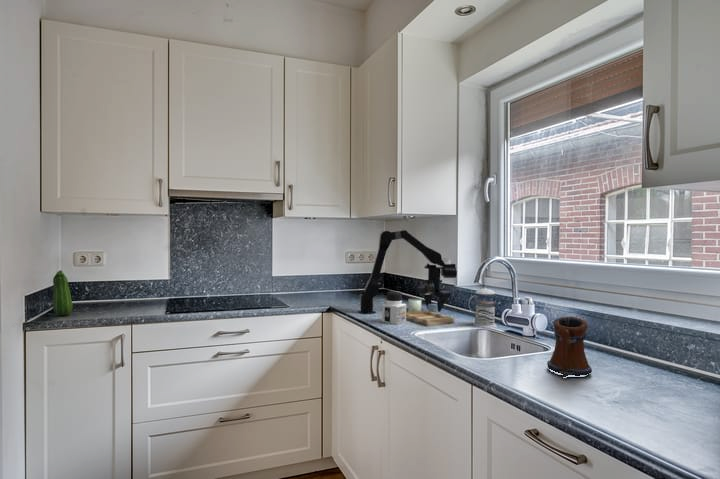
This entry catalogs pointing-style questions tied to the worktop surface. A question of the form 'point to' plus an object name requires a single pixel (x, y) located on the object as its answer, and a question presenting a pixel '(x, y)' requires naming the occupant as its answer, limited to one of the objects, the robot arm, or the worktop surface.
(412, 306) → the cup
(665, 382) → the worktop surface
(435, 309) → the block
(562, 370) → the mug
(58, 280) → the vegetable
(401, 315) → the container
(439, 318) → the tray
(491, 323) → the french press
